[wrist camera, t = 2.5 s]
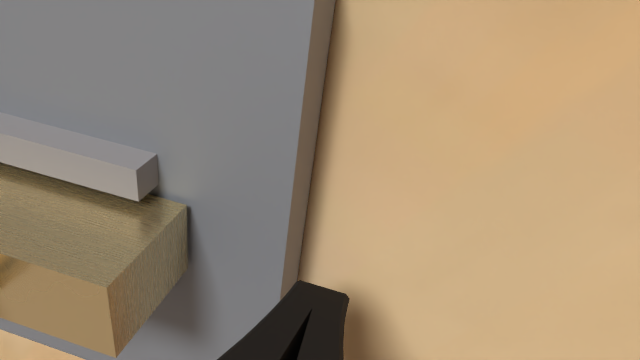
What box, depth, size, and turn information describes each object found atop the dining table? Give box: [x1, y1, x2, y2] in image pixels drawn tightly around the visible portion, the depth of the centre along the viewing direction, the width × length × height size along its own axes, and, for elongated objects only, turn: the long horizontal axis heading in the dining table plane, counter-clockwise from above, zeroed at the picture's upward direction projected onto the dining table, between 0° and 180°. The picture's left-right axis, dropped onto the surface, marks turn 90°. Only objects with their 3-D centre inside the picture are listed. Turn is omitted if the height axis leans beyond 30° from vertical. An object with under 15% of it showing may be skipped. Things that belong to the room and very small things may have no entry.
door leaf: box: [0, 0, 335, 360], centre depth 16 cm, size 16×12×3 cm
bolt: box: [0, 162, 188, 358], centre depth 13 cm, size 2×7×5 cm, turn 82°
